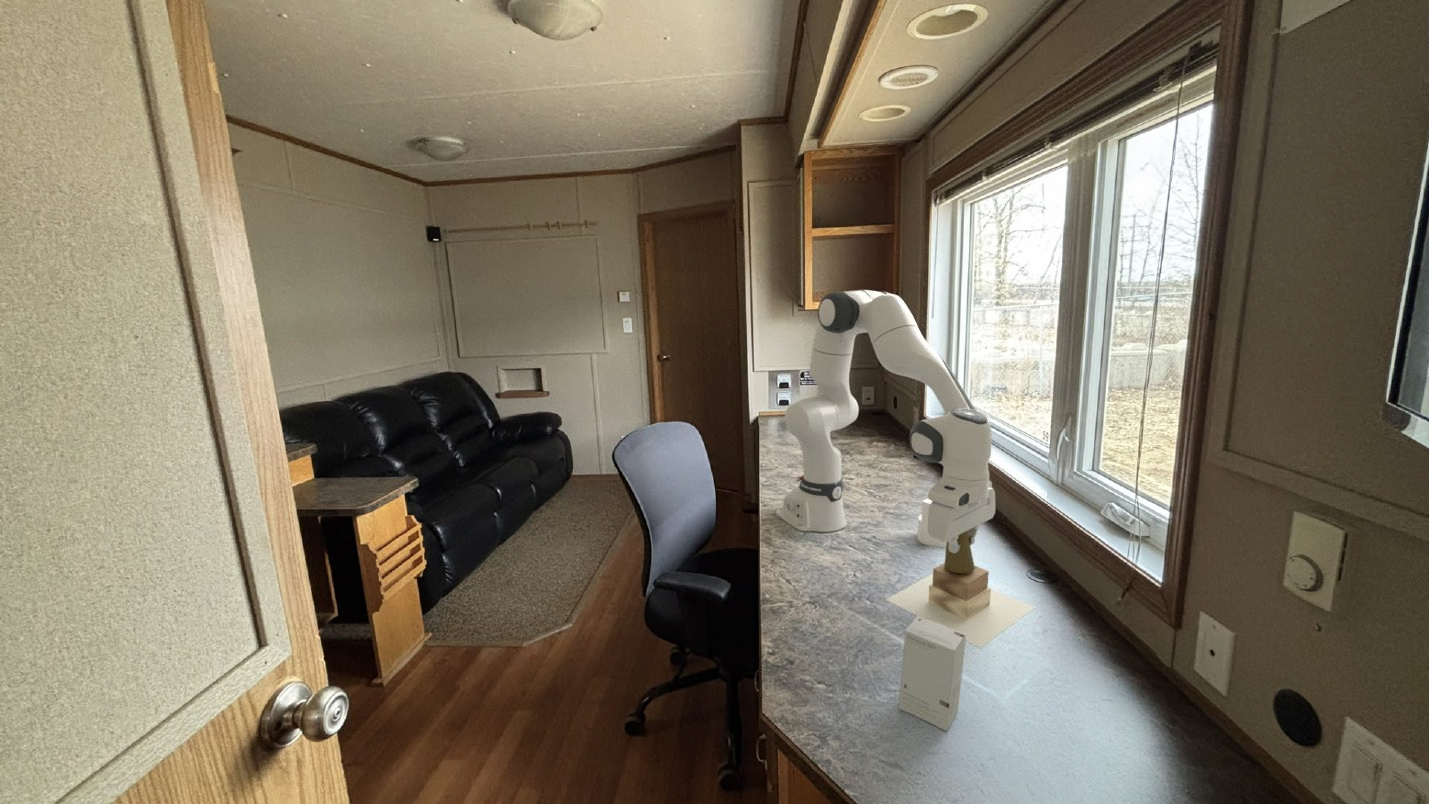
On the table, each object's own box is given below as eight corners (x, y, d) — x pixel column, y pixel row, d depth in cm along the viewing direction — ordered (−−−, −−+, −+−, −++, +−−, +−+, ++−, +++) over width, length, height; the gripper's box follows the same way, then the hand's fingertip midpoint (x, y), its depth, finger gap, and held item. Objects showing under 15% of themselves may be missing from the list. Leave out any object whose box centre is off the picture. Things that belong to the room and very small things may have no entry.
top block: (932, 585, 122) (933, 568, 121) (953, 573, 126) (953, 557, 126) (967, 601, 115) (968, 583, 115) (987, 588, 120) (988, 571, 119)
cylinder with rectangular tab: (930, 530, 160) (932, 490, 157) (959, 540, 152) (961, 499, 150) (910, 538, 155) (912, 497, 152) (939, 550, 147) (941, 507, 145)
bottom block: (928, 601, 123) (929, 585, 122) (951, 588, 128) (952, 572, 127) (967, 620, 116) (968, 603, 115) (989, 605, 121) (990, 588, 120)
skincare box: (898, 710, 93) (900, 630, 90) (911, 689, 97) (914, 613, 94) (950, 734, 88) (954, 650, 85) (962, 711, 92) (966, 631, 89)
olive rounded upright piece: (978, 572, 117) (975, 522, 116) (947, 573, 118) (944, 523, 117) (970, 561, 123) (967, 513, 121) (941, 562, 124) (938, 514, 123)
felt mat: (885, 602, 124) (885, 599, 124) (941, 570, 137) (942, 568, 137) (980, 651, 107) (980, 648, 107) (1035, 610, 119) (1035, 607, 119)
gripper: (977, 472, 125) (973, 529, 128) (923, 494, 113) (920, 556, 116) (1005, 479, 120) (1001, 538, 123) (951, 503, 108) (948, 568, 111)
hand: (961, 547), depth 119 cm, fingers closed on olive rounded upright piece, 4 cm apart
